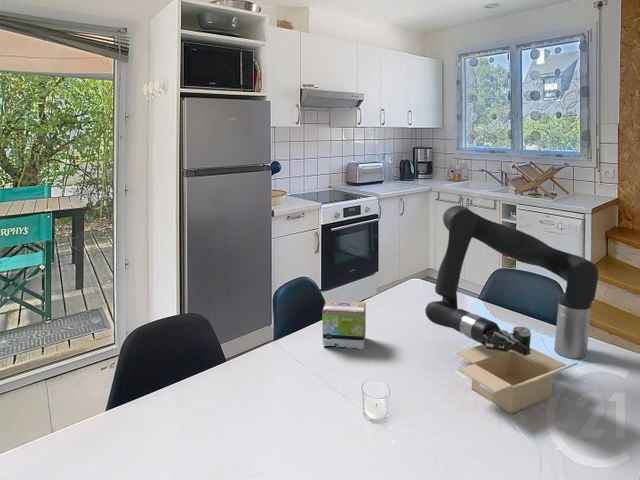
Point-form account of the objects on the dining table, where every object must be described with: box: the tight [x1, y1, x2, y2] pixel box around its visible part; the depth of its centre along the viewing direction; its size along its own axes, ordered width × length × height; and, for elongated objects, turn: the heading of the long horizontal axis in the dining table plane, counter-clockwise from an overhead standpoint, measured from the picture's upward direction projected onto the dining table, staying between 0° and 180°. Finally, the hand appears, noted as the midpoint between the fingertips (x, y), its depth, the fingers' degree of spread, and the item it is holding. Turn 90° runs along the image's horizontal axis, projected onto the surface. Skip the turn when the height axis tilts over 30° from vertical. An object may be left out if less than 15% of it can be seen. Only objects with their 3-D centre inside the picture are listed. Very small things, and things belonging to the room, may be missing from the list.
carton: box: [456, 344, 567, 415], centre depth 127 cm, size 28×21×8 cm
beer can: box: [511, 326, 532, 352], centre depth 139 cm, size 5×5×12 cm
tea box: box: [321, 299, 367, 350], centre depth 158 cm, size 15×10×15 cm
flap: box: [515, 362, 578, 387], centre depth 113 cm, size 15×1×8 cm
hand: (528, 352), depth 118 cm, fingers closed
